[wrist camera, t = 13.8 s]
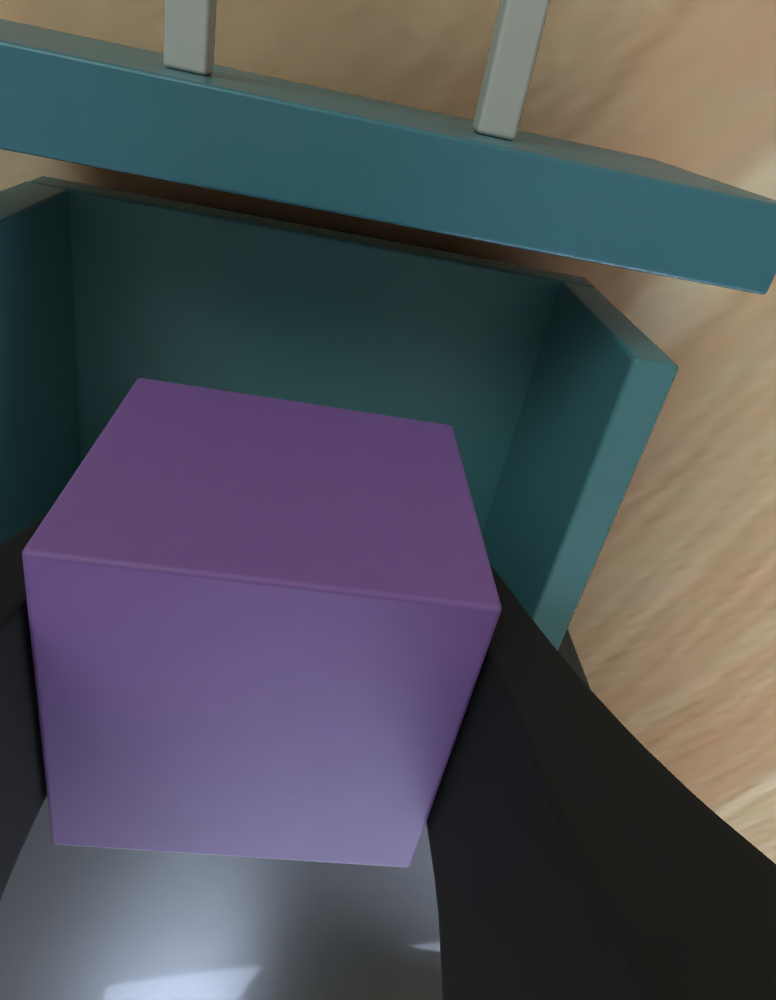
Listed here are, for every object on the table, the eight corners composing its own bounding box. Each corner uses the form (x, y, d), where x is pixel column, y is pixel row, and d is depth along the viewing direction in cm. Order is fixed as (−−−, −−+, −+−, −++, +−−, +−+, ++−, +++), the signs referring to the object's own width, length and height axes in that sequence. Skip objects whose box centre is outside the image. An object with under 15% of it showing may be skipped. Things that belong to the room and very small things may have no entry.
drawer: (-36, -379, 10) (-384, -772, 5) (762, -151, 12) (1043, -293, 7) (45, 588, 20) (-55, 762, 15) (486, 637, 22) (526, 807, 17)
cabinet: (25, 463, 19) (-145, 675, 12) (531, 531, 21) (613, 746, 14) (56, 801, 26) (-39, 1042, 20) (425, 828, 28) (447, 1056, 22)
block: (137, 619, 12) (50, 846, 8) (137, 375, 10) (18, 551, 6) (395, 647, 12) (411, 870, 9) (453, 423, 10) (504, 609, 7)
